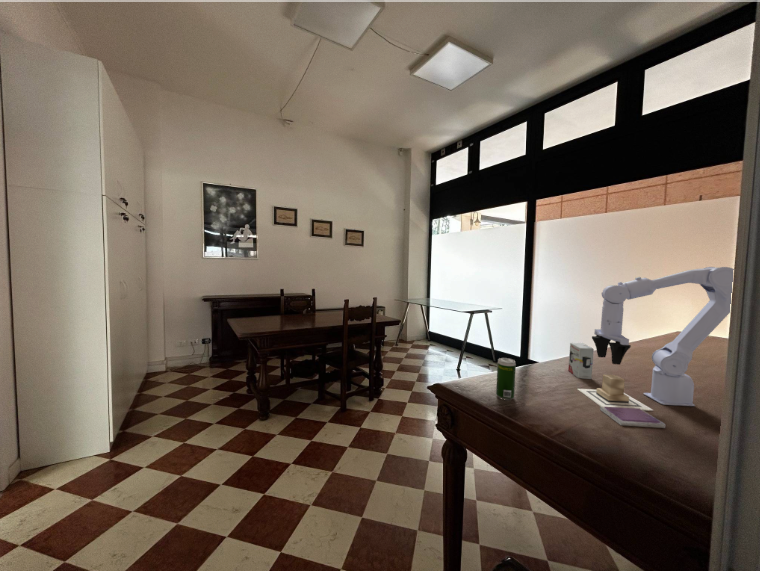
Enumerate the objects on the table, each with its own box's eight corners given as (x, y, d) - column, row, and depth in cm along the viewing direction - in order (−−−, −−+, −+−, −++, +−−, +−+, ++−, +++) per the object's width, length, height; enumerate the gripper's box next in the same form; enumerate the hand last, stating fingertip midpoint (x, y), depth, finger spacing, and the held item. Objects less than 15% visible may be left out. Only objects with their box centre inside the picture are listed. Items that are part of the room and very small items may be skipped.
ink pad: (639, 411, 91) (639, 407, 90) (665, 427, 82) (665, 423, 81) (599, 409, 91) (600, 405, 91) (620, 425, 82) (621, 420, 82)
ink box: (567, 370, 125) (569, 342, 125) (580, 371, 125) (582, 342, 124) (578, 378, 117) (580, 347, 116) (592, 379, 116) (594, 348, 115)
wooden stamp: (615, 395, 101) (617, 374, 101) (628, 403, 95) (630, 381, 95) (596, 394, 102) (597, 373, 101) (608, 402, 96) (609, 380, 95)
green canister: (517, 400, 96) (519, 363, 96) (500, 400, 96) (502, 362, 95) (509, 393, 102) (511, 357, 101) (493, 393, 102) (494, 357, 101)
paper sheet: (620, 391, 105) (620, 390, 105) (653, 411, 91) (653, 409, 91) (577, 389, 106) (577, 388, 106) (603, 408, 92) (603, 407, 92)
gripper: (586, 316, 112) (584, 353, 113) (613, 324, 97) (610, 366, 98) (607, 317, 111) (604, 354, 112) (637, 325, 97) (633, 368, 98)
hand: (608, 360), depth 105 cm, fingers open, 7 cm apart
